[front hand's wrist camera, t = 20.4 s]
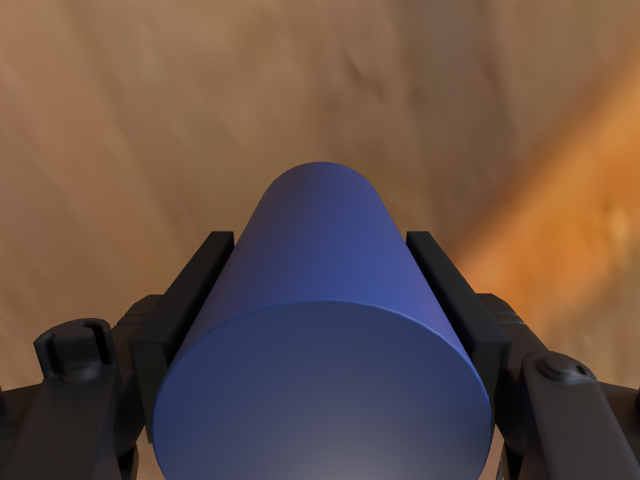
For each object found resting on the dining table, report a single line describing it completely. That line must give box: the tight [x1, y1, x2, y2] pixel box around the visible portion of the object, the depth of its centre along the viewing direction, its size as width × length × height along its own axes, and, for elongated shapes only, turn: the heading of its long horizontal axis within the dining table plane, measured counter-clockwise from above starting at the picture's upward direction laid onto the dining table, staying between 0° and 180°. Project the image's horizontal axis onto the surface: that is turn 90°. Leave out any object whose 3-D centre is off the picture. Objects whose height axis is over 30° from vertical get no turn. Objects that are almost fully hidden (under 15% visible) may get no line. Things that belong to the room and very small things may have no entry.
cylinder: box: [151, 162, 492, 480], centre depth 13 cm, size 6×6×12 cm
